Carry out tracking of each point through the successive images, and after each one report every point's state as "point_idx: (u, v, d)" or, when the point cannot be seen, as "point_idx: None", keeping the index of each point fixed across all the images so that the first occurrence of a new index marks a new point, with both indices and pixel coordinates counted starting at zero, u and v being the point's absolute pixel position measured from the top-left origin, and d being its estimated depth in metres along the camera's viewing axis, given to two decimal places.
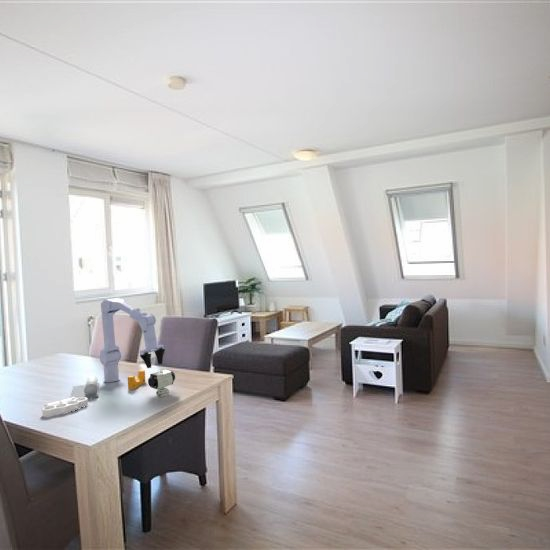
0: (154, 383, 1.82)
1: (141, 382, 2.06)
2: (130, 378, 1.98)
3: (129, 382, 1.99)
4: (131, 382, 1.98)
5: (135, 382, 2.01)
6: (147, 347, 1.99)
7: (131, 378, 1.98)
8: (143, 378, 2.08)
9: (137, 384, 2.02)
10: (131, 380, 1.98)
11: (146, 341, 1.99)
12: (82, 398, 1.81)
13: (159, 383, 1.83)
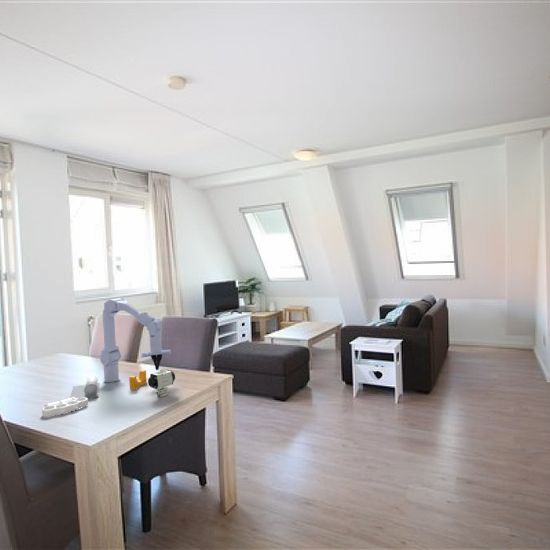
0: (154, 383, 1.82)
1: (142, 382, 2.06)
2: (132, 378, 1.98)
3: (131, 382, 1.98)
4: (133, 382, 1.98)
5: (137, 382, 2.01)
6: (150, 351, 2.07)
7: (133, 378, 1.98)
8: (144, 378, 2.08)
9: (138, 384, 2.02)
10: (133, 380, 1.98)
11: (150, 345, 2.07)
12: (82, 398, 1.80)
13: (159, 383, 1.83)
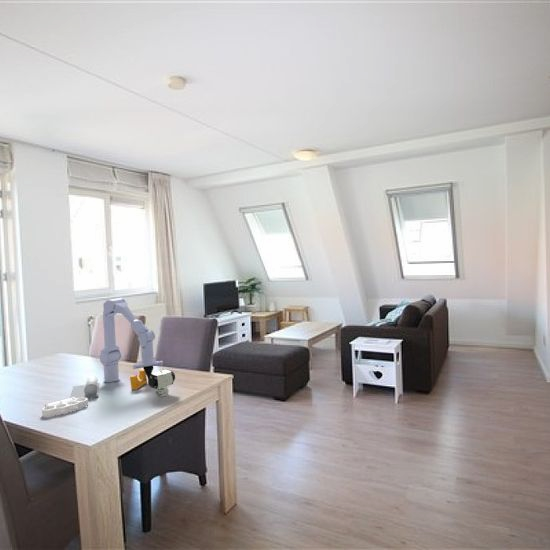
0: (154, 383, 1.82)
1: (143, 381, 2.06)
2: (132, 378, 1.98)
3: (132, 381, 1.98)
4: (134, 381, 1.98)
5: (138, 381, 2.01)
6: (142, 362, 2.06)
7: (134, 377, 1.98)
8: (145, 377, 2.08)
9: (139, 383, 2.02)
10: (134, 379, 1.98)
11: None
12: (82, 398, 1.80)
13: (159, 383, 1.83)
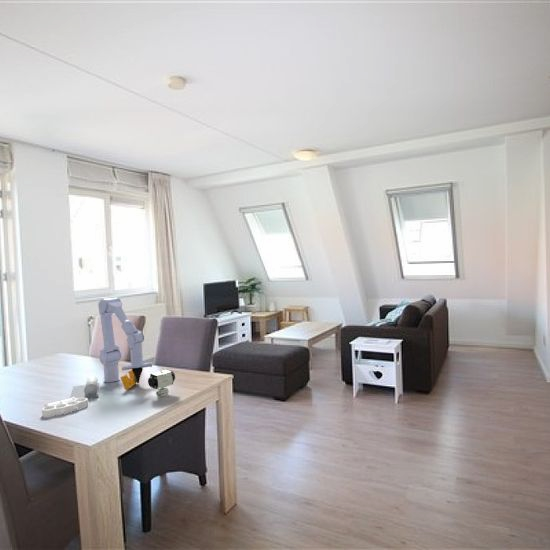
0: (154, 383, 1.82)
1: (135, 380, 2.05)
2: (123, 378, 1.97)
3: (124, 381, 1.97)
4: (126, 381, 1.97)
5: (129, 380, 1.99)
6: (131, 363, 2.04)
7: (124, 377, 1.97)
8: None
9: (132, 382, 2.01)
10: (125, 379, 1.97)
11: None
12: (82, 398, 1.80)
13: (159, 383, 1.83)
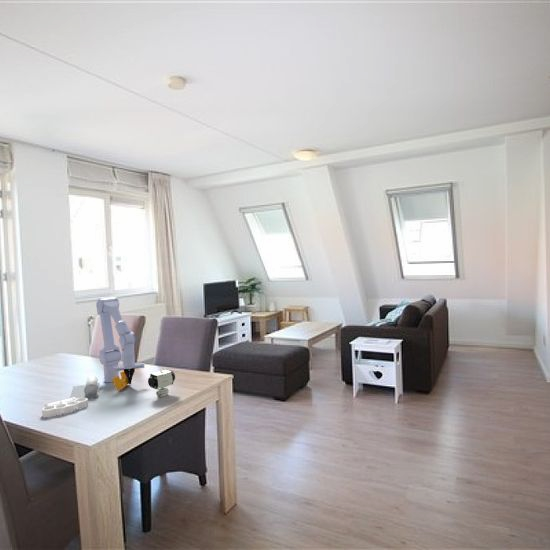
0: (154, 383, 1.82)
1: (127, 381, 2.04)
2: (115, 379, 1.95)
3: (115, 383, 1.95)
4: (117, 382, 1.95)
5: (121, 381, 1.98)
6: (123, 365, 2.02)
7: (116, 378, 1.95)
8: None
9: (124, 383, 2.00)
10: (117, 380, 1.95)
11: None
12: (82, 399, 1.80)
13: (159, 383, 1.83)
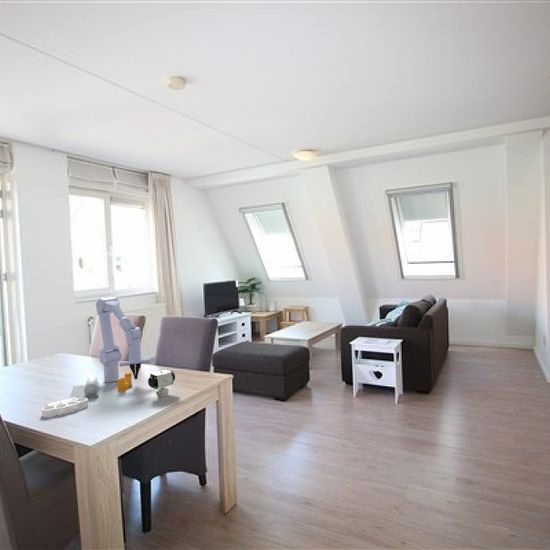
0: (154, 383, 1.82)
1: (129, 384, 2.04)
2: (120, 380, 1.95)
3: (119, 384, 1.95)
4: (121, 384, 1.95)
5: (124, 384, 1.98)
6: (129, 360, 2.03)
7: (121, 380, 1.95)
8: (130, 380, 2.06)
9: (126, 386, 2.00)
10: (121, 382, 1.95)
11: None
12: (82, 399, 1.80)
13: (159, 383, 1.83)
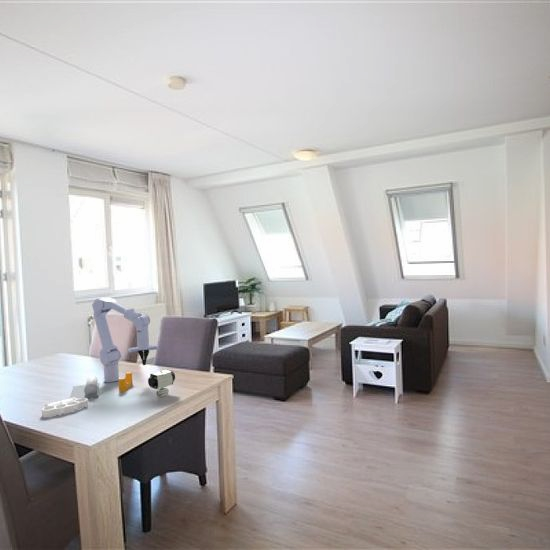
0: (154, 383, 1.82)
1: (130, 384, 2.04)
2: (121, 380, 1.95)
3: (120, 384, 1.95)
4: (122, 384, 1.95)
5: (126, 384, 1.98)
6: (137, 346, 2.08)
7: (122, 380, 1.95)
8: (131, 380, 2.06)
9: (127, 386, 2.00)
10: (123, 382, 1.95)
11: (137, 340, 2.07)
12: (83, 399, 1.80)
13: (159, 383, 1.83)
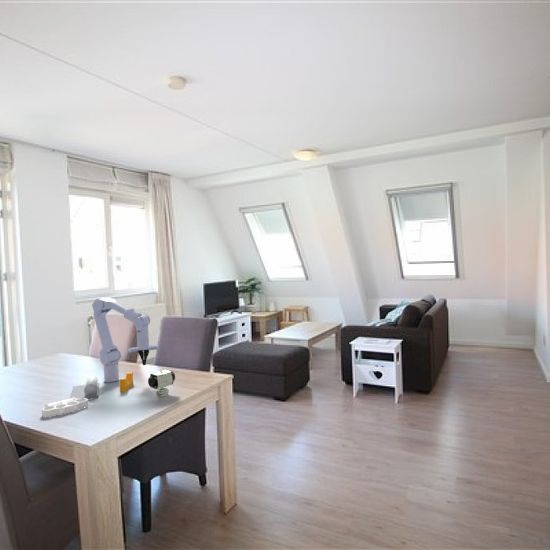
0: (154, 383, 1.82)
1: (130, 384, 2.04)
2: (122, 380, 1.95)
3: (121, 384, 1.95)
4: (123, 384, 1.95)
5: (127, 384, 1.98)
6: (137, 346, 2.08)
7: (123, 380, 1.95)
8: (131, 380, 2.06)
9: (128, 386, 2.00)
10: (124, 382, 1.95)
11: (137, 340, 2.07)
12: (83, 399, 1.80)
13: (159, 383, 1.83)
